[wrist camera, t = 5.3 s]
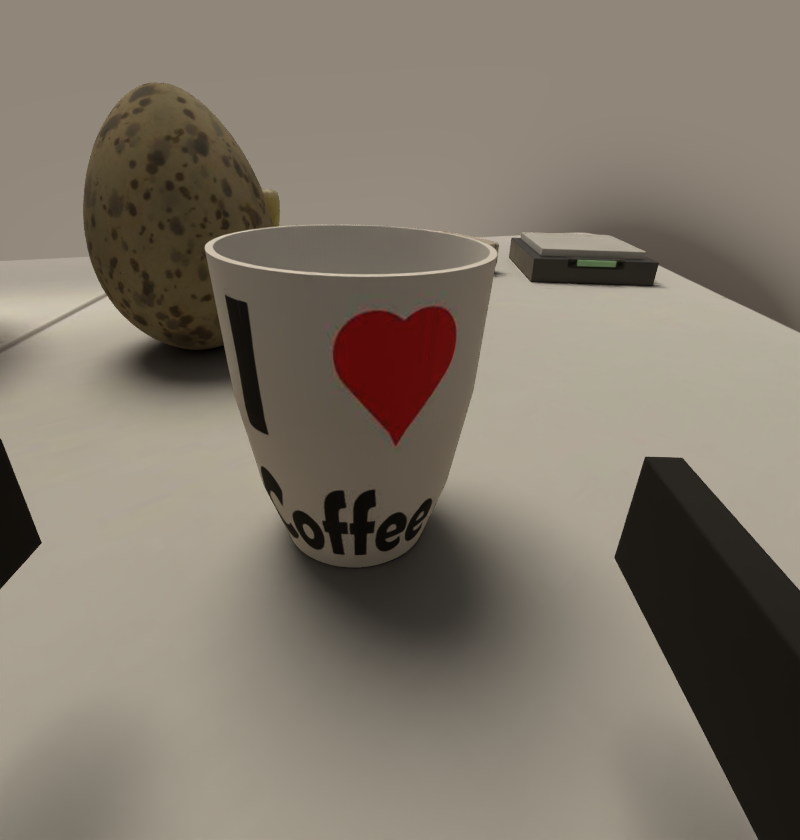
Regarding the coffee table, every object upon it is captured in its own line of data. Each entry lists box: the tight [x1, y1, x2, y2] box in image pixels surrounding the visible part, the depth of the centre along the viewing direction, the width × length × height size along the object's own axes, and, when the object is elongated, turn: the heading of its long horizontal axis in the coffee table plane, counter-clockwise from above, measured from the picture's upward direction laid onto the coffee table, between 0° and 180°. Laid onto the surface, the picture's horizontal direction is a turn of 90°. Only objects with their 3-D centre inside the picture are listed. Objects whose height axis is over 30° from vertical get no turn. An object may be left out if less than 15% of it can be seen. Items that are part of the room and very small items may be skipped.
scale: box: [509, 232, 659, 286], centre depth 59 cm, size 13×13×3 cm
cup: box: [205, 225, 497, 567], centre depth 17 cm, size 8×8×10 cm
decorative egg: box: [83, 83, 274, 350], centre depth 31 cm, size 11×11×15 cm
